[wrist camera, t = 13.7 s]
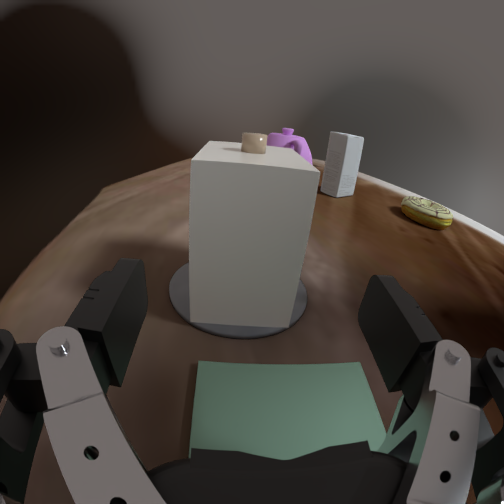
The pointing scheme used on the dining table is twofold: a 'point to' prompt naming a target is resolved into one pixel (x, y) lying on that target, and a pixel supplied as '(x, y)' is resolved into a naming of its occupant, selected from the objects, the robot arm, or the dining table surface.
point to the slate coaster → (182, 307)
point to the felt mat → (283, 408)
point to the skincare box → (341, 164)
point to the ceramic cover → (248, 231)
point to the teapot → (290, 143)
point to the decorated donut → (427, 212)
